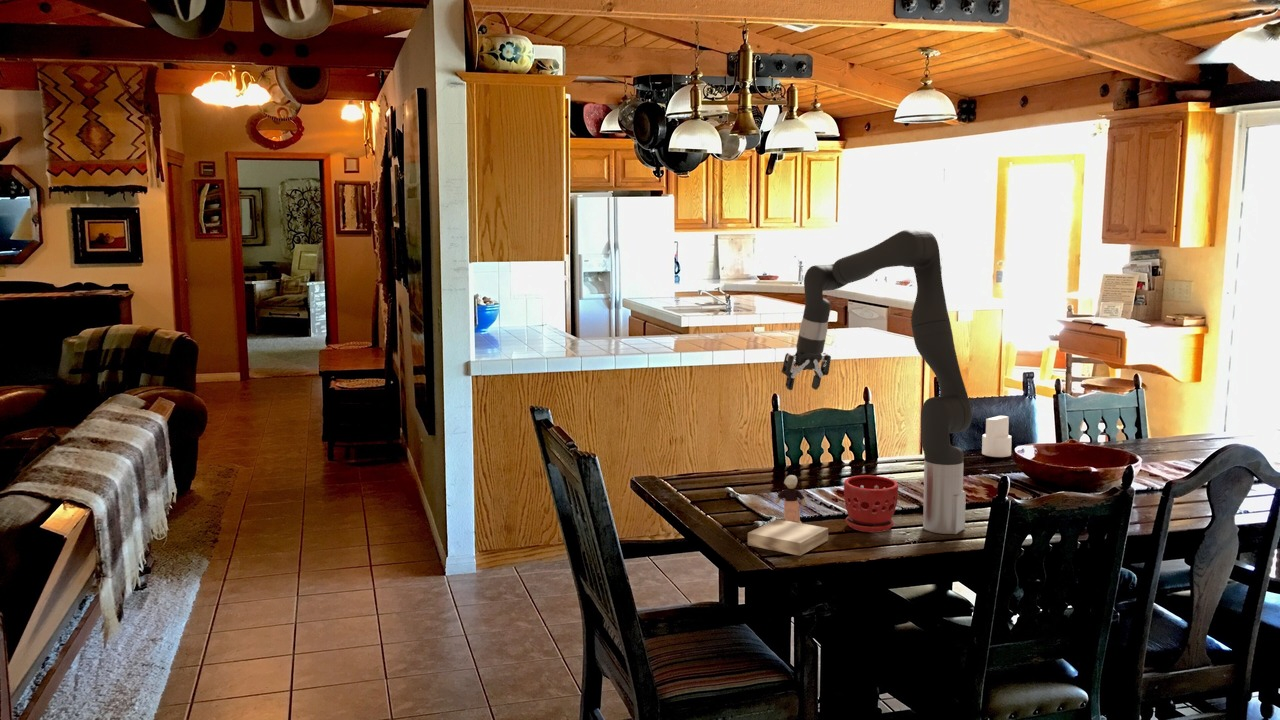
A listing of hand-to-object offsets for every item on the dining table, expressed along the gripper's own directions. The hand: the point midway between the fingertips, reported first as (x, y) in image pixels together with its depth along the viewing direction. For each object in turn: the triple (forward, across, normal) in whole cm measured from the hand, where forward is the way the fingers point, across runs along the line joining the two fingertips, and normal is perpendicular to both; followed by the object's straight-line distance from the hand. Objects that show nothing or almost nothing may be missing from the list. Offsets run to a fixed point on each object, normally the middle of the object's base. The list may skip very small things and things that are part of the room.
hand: (802, 388), depth 290 cm
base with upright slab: (+25, +82, +1) cm, 85 cm away
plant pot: (+19, -5, -46) cm, 51 cm away
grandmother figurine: (+23, -21, -35) cm, 47 cm away
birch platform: (+20, -30, -47) cm, 59 cm away
